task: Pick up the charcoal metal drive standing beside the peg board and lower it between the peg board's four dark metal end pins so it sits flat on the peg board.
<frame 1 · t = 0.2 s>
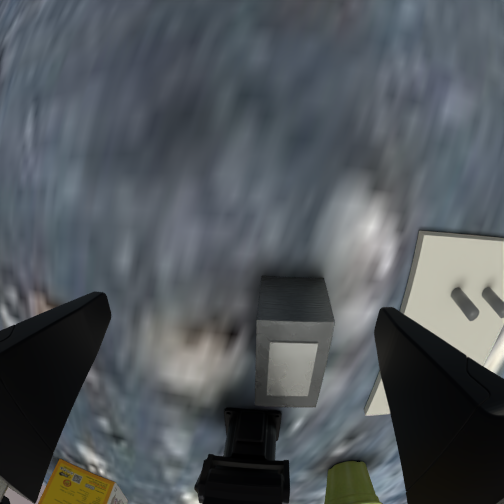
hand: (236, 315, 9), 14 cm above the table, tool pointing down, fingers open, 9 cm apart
peg board: (448, 336, 26), on the table
packaging box: (95, 481, 54), on the table
drive: (289, 321, 26), on the table
plant pot: (346, 466, 38), on the table
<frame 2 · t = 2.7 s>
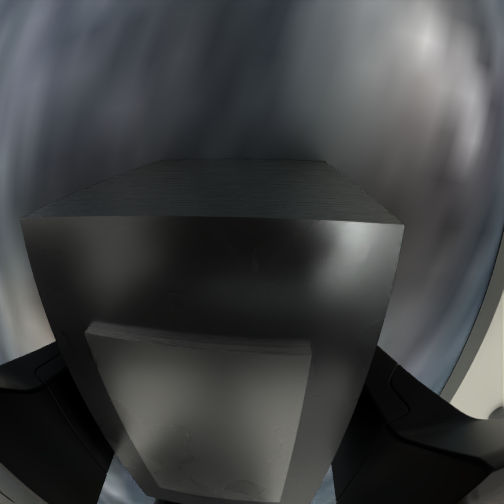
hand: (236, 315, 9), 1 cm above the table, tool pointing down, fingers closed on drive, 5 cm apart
drive: (241, 293, 10), on the table, touching gripper
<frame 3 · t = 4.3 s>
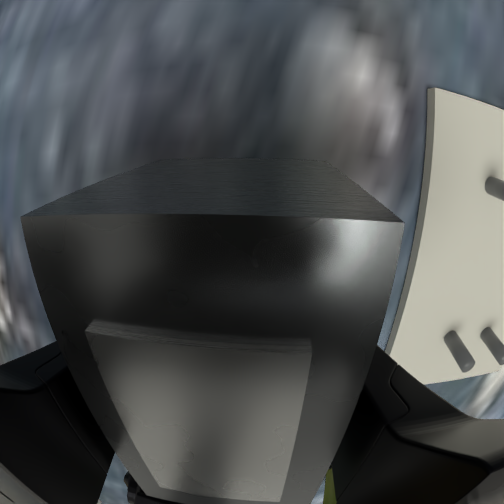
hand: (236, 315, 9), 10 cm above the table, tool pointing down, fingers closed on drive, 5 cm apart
peg board: (485, 262, 18), on the table
drive: (241, 292, 10), point 8 cm above the table, touching gripper
plant pot: (350, 466, 29), on the table
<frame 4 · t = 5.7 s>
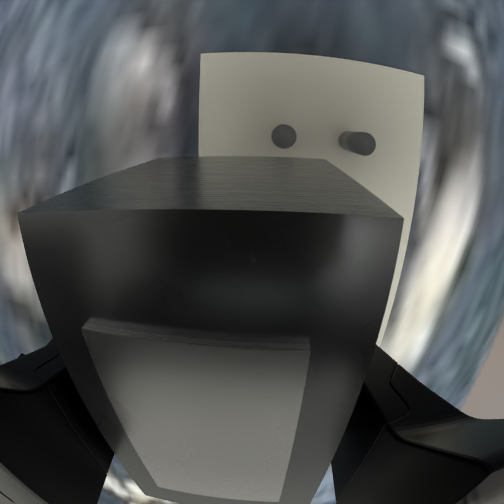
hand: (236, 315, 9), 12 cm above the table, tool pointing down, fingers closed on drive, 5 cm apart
peg board: (307, 225, 20), on the table
drive: (240, 291, 10), point 10 cm above the table, touching gripper
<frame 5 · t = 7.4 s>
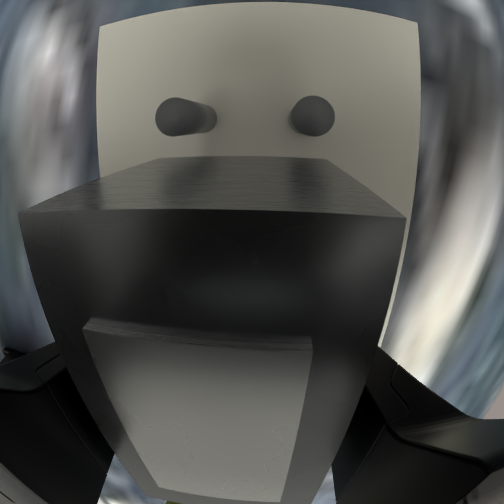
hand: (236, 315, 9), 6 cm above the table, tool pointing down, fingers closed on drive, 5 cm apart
peg board: (253, 246, 14), on the table
drive: (241, 291, 10), point 4 cm above the table, touching gripper
when the fingers open (4 cm above the table, at t = 8.7 s): drive drops 1 cm, resting on peg board.
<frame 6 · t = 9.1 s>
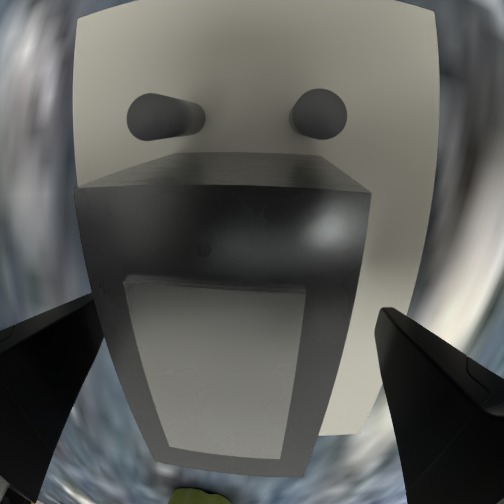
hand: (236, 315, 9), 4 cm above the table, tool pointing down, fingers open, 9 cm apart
peg board: (248, 262, 13), on the table
drive: (245, 272, 12), point 1 cm above the table, touching peg board
plant pot: (202, 495, 24), on the table
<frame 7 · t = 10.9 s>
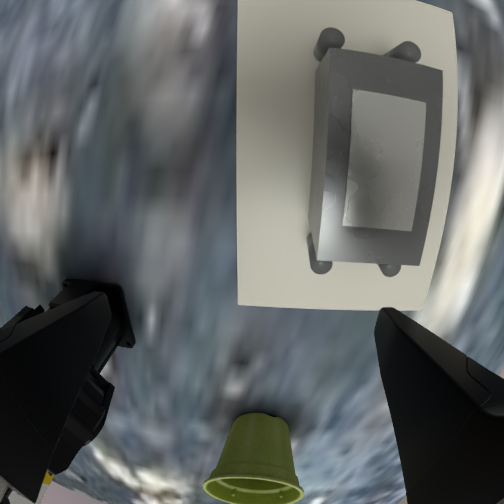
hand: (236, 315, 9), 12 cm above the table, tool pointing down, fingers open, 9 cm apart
peg board: (351, 148, 18), on the table
packaging box: (25, 435, 47), on the table
drive: (354, 149, 17), point 1 cm above the table, touching peg board
plant pot: (261, 425, 30), on the table
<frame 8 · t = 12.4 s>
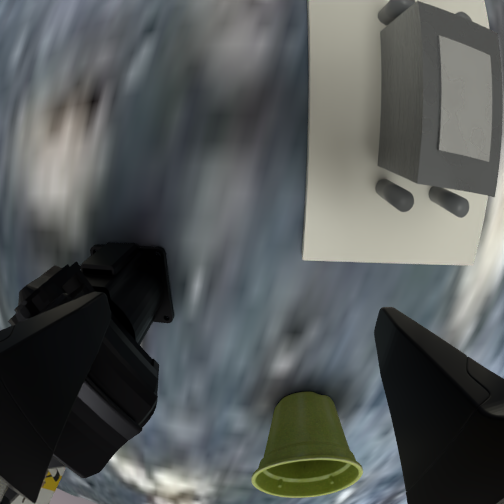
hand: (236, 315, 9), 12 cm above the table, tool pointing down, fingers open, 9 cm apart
peg board: (411, 104, 16), on the table
packaging box: (28, 438, 44), on the table
drive: (416, 102, 16), point 1 cm above the table, touching peg board
plant pot: (304, 407, 28), on the table
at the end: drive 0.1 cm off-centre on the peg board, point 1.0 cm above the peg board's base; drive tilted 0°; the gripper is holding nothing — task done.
